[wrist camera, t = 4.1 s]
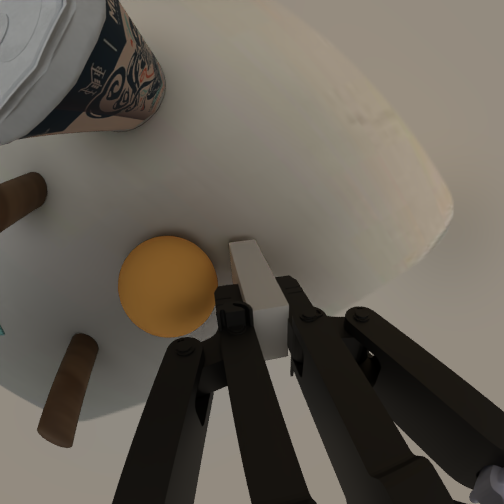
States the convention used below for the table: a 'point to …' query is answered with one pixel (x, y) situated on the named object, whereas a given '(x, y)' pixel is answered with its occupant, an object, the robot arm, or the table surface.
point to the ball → (167, 286)
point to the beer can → (73, 69)
